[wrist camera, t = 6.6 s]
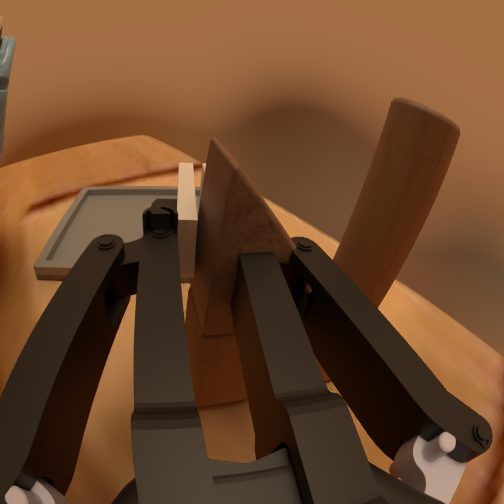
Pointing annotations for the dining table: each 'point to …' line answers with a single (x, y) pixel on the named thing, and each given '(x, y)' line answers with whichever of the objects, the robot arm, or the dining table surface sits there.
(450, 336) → the dining table surface
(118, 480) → the dining table surface
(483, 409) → the dining table surface
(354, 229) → the wooden block
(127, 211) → the slate tray
